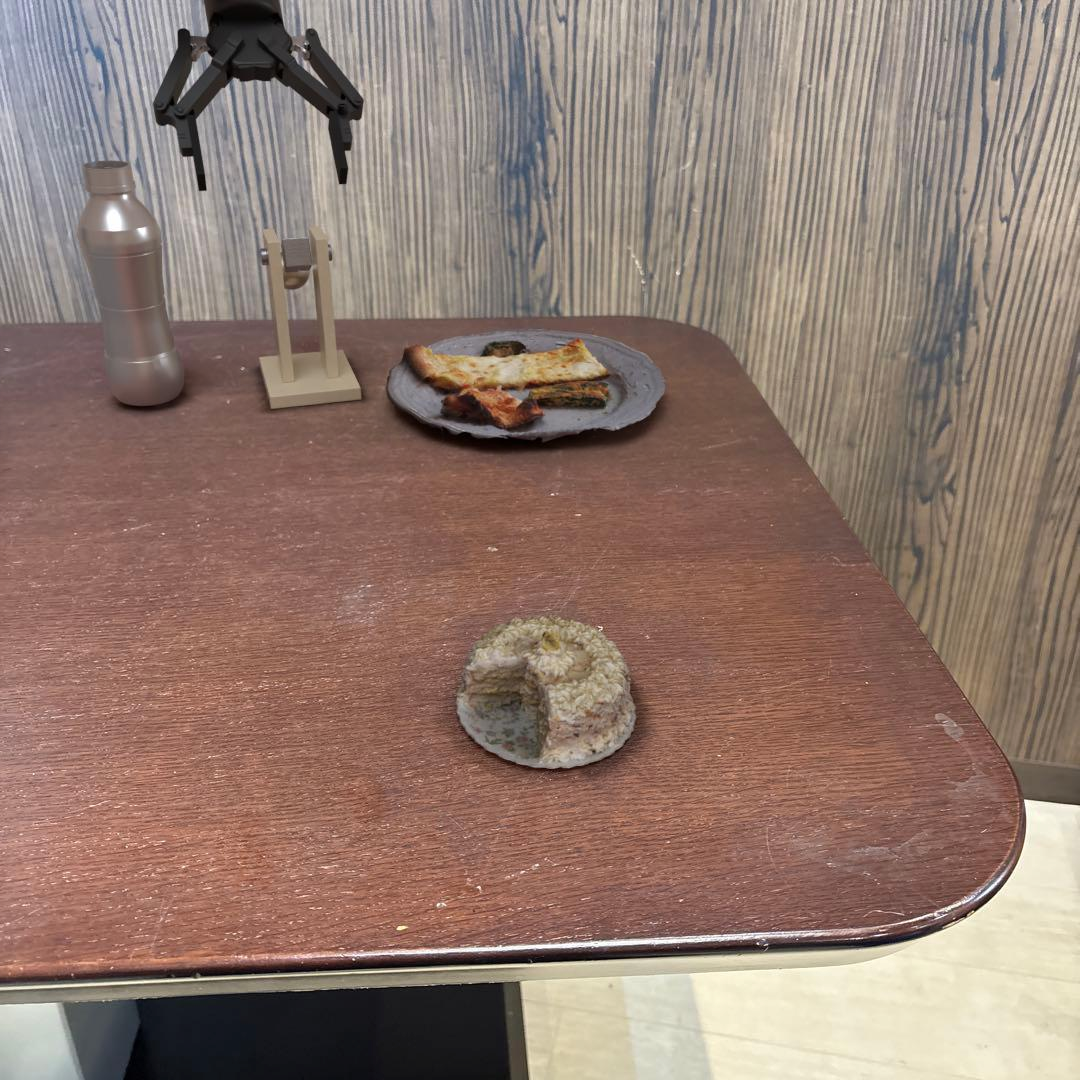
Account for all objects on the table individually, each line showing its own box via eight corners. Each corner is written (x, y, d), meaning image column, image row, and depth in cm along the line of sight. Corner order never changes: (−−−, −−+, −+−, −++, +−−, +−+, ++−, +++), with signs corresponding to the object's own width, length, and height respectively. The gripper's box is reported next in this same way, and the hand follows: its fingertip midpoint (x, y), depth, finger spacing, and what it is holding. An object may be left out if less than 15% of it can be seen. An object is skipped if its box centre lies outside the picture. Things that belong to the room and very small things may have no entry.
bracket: (260, 368, 97) (241, 222, 90) (343, 360, 99) (332, 217, 92) (271, 409, 89) (251, 252, 81) (361, 399, 91) (350, 245, 84)
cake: (524, 640, 61) (531, 563, 59) (668, 707, 57) (682, 626, 54) (416, 717, 54) (419, 633, 51) (571, 801, 49) (583, 713, 47)
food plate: (396, 464, 80) (394, 424, 78) (378, 359, 99) (376, 325, 98) (695, 444, 84) (700, 406, 83) (622, 347, 104) (625, 314, 102)
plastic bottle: (152, 380, 93) (110, 153, 83) (204, 396, 91) (168, 163, 80) (94, 403, 89) (42, 165, 78) (147, 421, 86) (100, 177, 75)
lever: (272, 293, 97) (267, 255, 96) (310, 290, 98) (305, 253, 97) (279, 274, 86) (273, 231, 86) (321, 271, 87) (315, 229, 87)
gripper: (359, 23, 110) (395, 195, 106) (116, 23, 103) (144, 208, 99) (365, -31, 103) (403, 151, 99) (104, -34, 96) (134, 161, 92)
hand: (274, 180), depth 99 cm, fingers open, 13 cm apart
